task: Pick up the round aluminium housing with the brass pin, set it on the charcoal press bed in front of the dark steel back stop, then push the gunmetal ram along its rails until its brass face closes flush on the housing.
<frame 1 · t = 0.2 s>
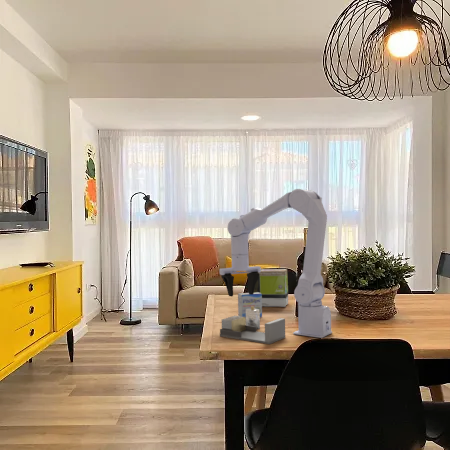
hand: (241, 295, 156), 10 cm above the table, tool pointing down, fingers open, 7 cm apart
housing: (252, 328, 151), on the table
press bed: (252, 336, 139), on the table
tea box: (269, 305, 193), on the table
ram: (233, 324, 143), point 3 cm above the table, slide at 0.0 cm
medicine box: (250, 317, 169), on the table
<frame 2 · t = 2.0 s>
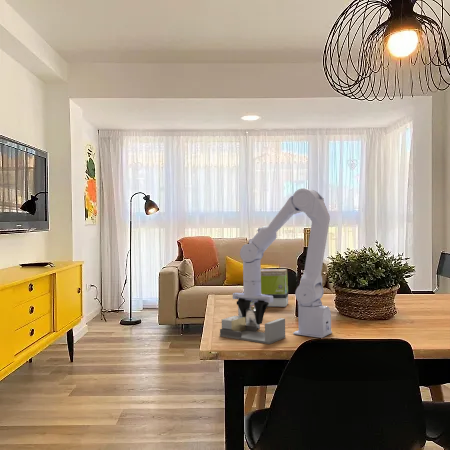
hand: (252, 322, 151), 2 cm above the table, tool pointing down, fingers closed on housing, 4 cm apart
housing: (252, 328, 151), on the table, touching gripper
everything else where it was.
when the fingers open (3 cm above the table, at t = 5.9 s): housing stays where it is, resting on press bed.
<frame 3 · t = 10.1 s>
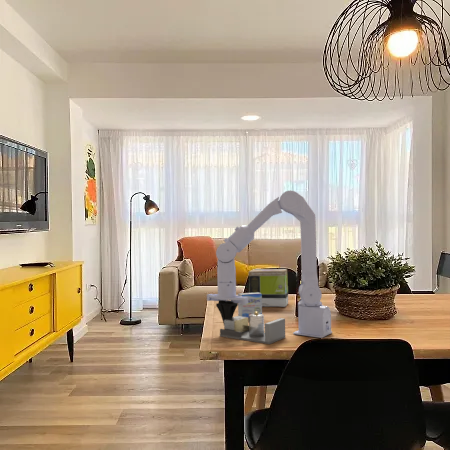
hand: (227, 325, 144), 2 cm above the table, tool pointing down, fingers closed
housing: (256, 335, 138), point 1 cm above the table, touching press bed
ram: (236, 325, 142), point 3 cm above the table, slide at 1.0 cm, touching gripper
everything else where it was.
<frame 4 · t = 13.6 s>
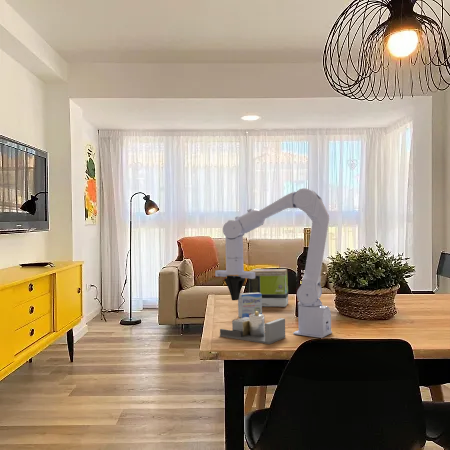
hand: (235, 299, 150), 9 cm above the table, tool pointing down, fingers closed
ram: (244, 326, 140), point 3 cm above the table, slide at 4.0 cm
everything else where it was.
at the end: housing 0.2 cm from the target spot, point 0.6 cm above the table; ram slide at 4.0 cm; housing tilted 0° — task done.
